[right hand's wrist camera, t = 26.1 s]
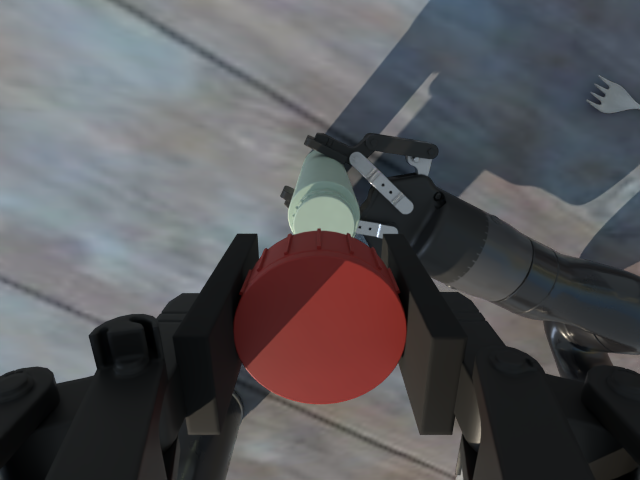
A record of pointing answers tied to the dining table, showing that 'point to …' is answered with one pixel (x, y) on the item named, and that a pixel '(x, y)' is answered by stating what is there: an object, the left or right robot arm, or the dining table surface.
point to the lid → (320, 318)
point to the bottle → (323, 198)
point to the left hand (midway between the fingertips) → (295, 165)
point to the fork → (613, 98)
